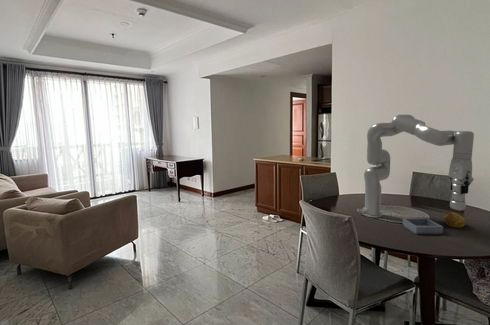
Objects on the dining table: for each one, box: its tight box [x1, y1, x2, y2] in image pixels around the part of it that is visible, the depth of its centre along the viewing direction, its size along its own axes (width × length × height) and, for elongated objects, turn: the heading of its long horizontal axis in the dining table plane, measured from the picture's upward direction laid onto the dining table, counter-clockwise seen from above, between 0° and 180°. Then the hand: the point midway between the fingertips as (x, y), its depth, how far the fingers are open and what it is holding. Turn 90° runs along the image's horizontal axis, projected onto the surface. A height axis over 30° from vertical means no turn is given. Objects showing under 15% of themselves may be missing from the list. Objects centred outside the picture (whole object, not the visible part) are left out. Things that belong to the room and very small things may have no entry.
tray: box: [401, 217, 444, 235], centre depth 159 cm, size 14×14×4 cm
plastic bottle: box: [449, 178, 467, 211], centre depth 143 cm, size 6×7×20 cm
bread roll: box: [443, 212, 467, 229], centre depth 164 cm, size 13×10×8 cm
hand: (459, 191), depth 143 cm, fingers closed on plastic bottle, 6 cm apart
